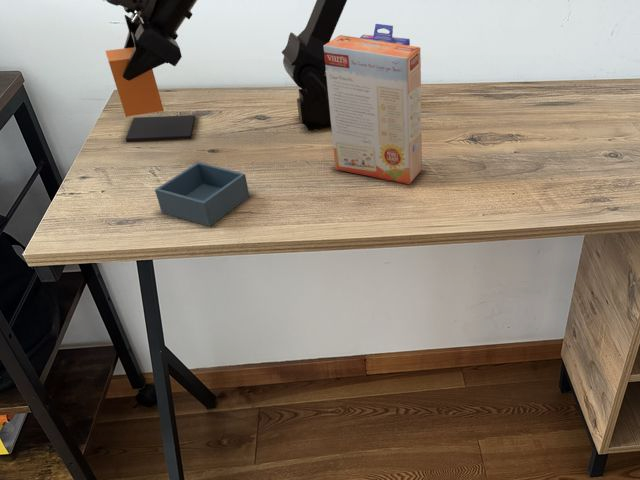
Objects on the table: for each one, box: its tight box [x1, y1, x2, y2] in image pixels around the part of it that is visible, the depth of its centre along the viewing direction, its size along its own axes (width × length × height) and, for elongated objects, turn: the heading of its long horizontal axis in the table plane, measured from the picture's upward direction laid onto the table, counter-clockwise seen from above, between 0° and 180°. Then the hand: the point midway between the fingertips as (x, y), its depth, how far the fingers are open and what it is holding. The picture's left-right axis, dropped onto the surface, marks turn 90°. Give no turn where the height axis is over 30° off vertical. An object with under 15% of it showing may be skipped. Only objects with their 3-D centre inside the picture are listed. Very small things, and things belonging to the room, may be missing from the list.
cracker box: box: [324, 34, 423, 185], centre depth 111 cm, size 14×6×21 cm, turn 71°
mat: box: [125, 114, 196, 143], centre depth 126 cm, size 11×9×1 cm
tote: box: [154, 161, 250, 227], centre depth 106 cm, size 10×9×4 cm
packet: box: [105, 47, 164, 118], centre depth 112 cm, size 6×5×9 cm
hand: (123, 72), depth 111 cm, fingers closed on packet, 5 cm apart
